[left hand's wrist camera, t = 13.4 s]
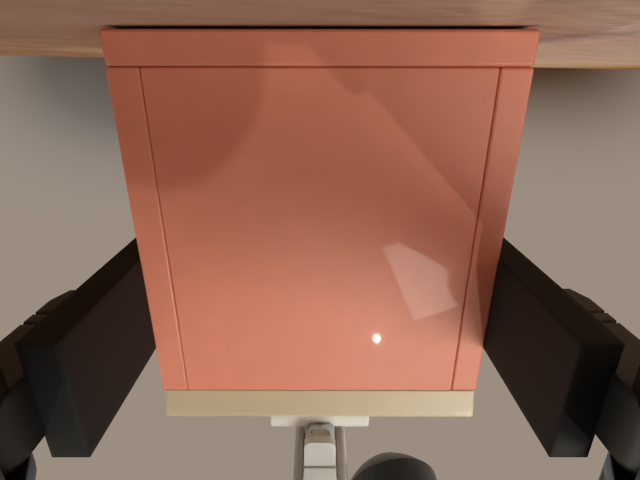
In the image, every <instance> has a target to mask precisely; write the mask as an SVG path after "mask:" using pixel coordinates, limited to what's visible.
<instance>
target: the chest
mask: <svg viewBox="0 0 640 480" xmlns="http://www.w3.org/2000/svg"><path fill="white" fill-rule="evenodd" d="M539 34H540V33H539V30H537V29H102V30H100V36H101V42H102V47H103V53H104V58H105V63H106V65H107V66H110V67H107V68H106V73H107V78H108V84H109V90H110V95H111V101H112V106H113V112H114V117H115V123H116V128H117V134H118V139H119V145H120V151H121V156H122V161H123V167H124V173H125V178H126V184H127V189H128V195H129V200H130V206H131V212H132V217H133V223H134V228H135V234H136V239H137V245H138V251H139V256H140V261H141V266H142V272H143V277H144V283H145V288H146V294H147V299H148V305H149V310H150V316H151V322H152V327H153V333H154V338H155V344H156V350H157V356H158V362H159V367H160V373H161V378H162V384H163V389H179V390H186V389H190V390H450V389H453V390H475V389H476V384H477V379H478V373H479V368H480V362H481V357H482V351H483V346H484V340H485V335H486V329H487V324H488V318H489V312H490V307H491V301H492V296H493V290H494V285H495V279H496V274H497V268H498V263H499V257H500V252H501V246H502V241H503V235H504V230H505V224H506V219H507V213H508V207H509V202H510V196H511V191H512V185H513V180H514V174H515V169H516V163H517V158H518V152H519V147H520V141H521V136H522V130H523V125H524V119H525V114H526V108H527V103H528V97H529V91H530V86H531V80H532V75H533V68H531V66H533V64H534V62H535V56H536V51H537V45H538V40H539Z"/></svg>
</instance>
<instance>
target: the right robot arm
mask: <svg viewBox="0 0 640 480" xmlns="http://www.w3.org/2000/svg"><path fill="white" fill-rule="evenodd" d="M292 480H348V475H347V460H346V445H345V430H344V426H334V425H332V424H331V423H322V424H321V425H320V424H318V423H309V424H308V425H307V426H296V427H295V441H294V454H293V468H292ZM351 480H437V479H436V476H435V473H434V471H433V470H432V468H431V467H430V466H429V465H428V464H426V463H425V462H423V461H421V460H419V459H417V458H414V457H412V456H409V455H405V454H401V453H392V452H389V453H382V454H378V455H376V456H374V457H372V458H370V459H369V460H367V461H366V462H365V463H364V464H363V465H362V466H361V467H360V468H359V469H358V470H357V471H356V473H355V474H354V476H353V477H352V479H351Z"/></svg>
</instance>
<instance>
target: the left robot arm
mask: <svg viewBox="0 0 640 480" xmlns="http://www.w3.org/2000/svg"><path fill="white" fill-rule="evenodd" d="M483 348H484V350H485V351H486V353H487V355H488V356H489V358H490V359H491V361H492V363H493V364H494V366H495V368H496V369H497V371H498V373H499V374H500V376H501V378H502V379H503V381H504V383H505V384H506V386H507V388H508V389H509V391H510V392H511V394H512V396H513V398H514V399H515V401H516V402H517V404H518V406H519V407H520V409H521V411H522V412H523V414H524V416H525V417H526V419H527V421H528V422H529V424H530V426H531V427H532V429H533V431H534V432H535V434H536V435H537V437H538V439H539V440H540V442H541V444H542V446H543V447H544V449H545V451H546V452H547V454H548V455H549V457H588V454H589V451H590V448H591V445H592V441H593V439H594V435H595V434H596V435H597V437H598V438H599V439H600V441H601V442H602V443H603V445H604V446H605V447H606V448H607V450H608V454H607V457H606V460H605V462H604V465H603V468H602V471H601V474H600V476H599V479H598V480H640V340H639V339H638V338H637V337H636V336H634V335H633V334H632V333H631V332H629V331H628V330H627V329H626V328H625V327H623V326H622V325H621V324H620V323H616V320H615V319H614V318H612V317H611V316H610V315H609V314H608V313H604V310H603V309H601V308H600V307H599V306H598V305H597V304H595V303H594V302H593V301H592V300H590V299H589V298H587V297H585V296H583V295H581V294H579V293H577V292H575V291H573V290H571V289H562V288H561V287H560V286H559V285H557V284H556V283H555V282H554V281H553V280H552V279H551V278H549V277H548V276H547V275H546V274H545V273H544V272H543V271H541V270H540V269H539V268H538V267H537V266H536V265H535V264H533V263H532V262H531V261H530V260H529V259H528V258H526V257H525V256H524V255H523V254H522V253H521V252H520V251H518V250H517V249H516V248H515V247H514V246H513V245H512V244H510V243H509V242H508V241H507V240H506V239H505V238H504V237H503V241H502V246H501V252H500V257H499V263H498V268H497V274H496V279H495V285H494V290H493V296H492V301H491V307H490V312H489V318H488V324H487V329H486V335H485V340H484V346H483ZM155 349H156V344H155V338H154V333H153V327H152V322H151V316H150V310H149V305H148V299H147V294H146V288H145V283H144V277H143V272H142V266H141V261H140V256H139V251H138V245H137V239H136V238H135V239H134V240H133V241H131V242H130V243H129V244H128V245H127V246H126V247H125V248H123V249H122V250H121V251H120V252H119V253H118V254H117V255H115V256H114V257H113V258H112V259H111V260H110V261H109V262H107V263H106V264H105V265H104V266H103V267H102V268H100V269H99V270H98V271H97V272H96V273H95V274H94V275H92V276H91V277H90V278H89V279H88V280H87V281H86V282H84V283H83V284H82V285H81V286H80V287H79V288H77V289H76V290H70V291H68V292H66V293H64V294H62V295H60V296H58V297H56V298H54V299H52V300H50V301H49V302H48V303H46V304H45V305H44V306H43V307H42V308H40V309H39V310H38V311H37V312H36V314H35V315H32V316H31V317H29V318H28V319H27V320H26V321H25V322H24V324H23V325H20V326H19V327H17V328H16V329H15V330H14V331H13V332H11V333H10V334H9V335H8V336H6V337H5V338H4V339H3V340H2V341H0V480H35V477H36V470H37V469H36V464H35V460H34V457H33V454H32V451H33V450H34V449H35V448H36V446H37V445H38V444H39V442H40V441H41V440H42V438H43V437H44V436H45V437H46V440H47V443H48V446H49V449H50V452H51V455H52V457H90V456H91V455H92V453H93V451H94V450H95V448H96V446H97V445H98V443H99V441H100V440H101V438H102V436H103V435H104V433H105V432H106V430H107V428H108V427H109V425H110V423H111V422H112V420H113V418H114V417H115V415H116V413H117V412H118V410H119V408H120V407H121V405H122V403H123V402H124V400H125V398H126V397H127V395H128V393H129V392H130V390H131V389H132V387H133V385H134V384H135V382H136V380H137V379H138V377H139V375H140V374H141V372H142V370H143V369H144V367H145V365H146V364H147V362H148V360H149V359H150V357H151V355H152V354H153V352H154V350H155Z"/></svg>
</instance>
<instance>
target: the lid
mask: <svg viewBox="0 0 640 480" xmlns="http://www.w3.org/2000/svg"><path fill="white" fill-rule="evenodd" d="M165 395H166V414H167V416H271V425H272V426H307V425H308V424H309V423H318V424H320V425H321V424H322V423H331V424H332V425H334V426H368V424H369V416H472V415H473V399H474V390H453V389H450V390H190V389H186V390H179V389H166V390H165Z"/></svg>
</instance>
